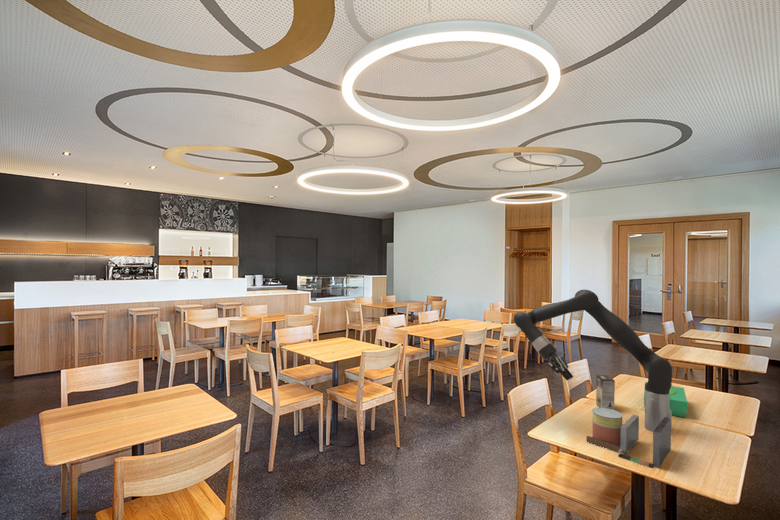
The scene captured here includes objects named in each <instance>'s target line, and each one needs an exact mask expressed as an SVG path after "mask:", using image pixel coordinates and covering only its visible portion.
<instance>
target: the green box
mask: <svg viewBox="0 0 780 520" xmlns="http://www.w3.org/2000/svg"><path fill="white" fill-rule="evenodd" d="M647 382H648V381H647ZM647 382H646V381H644V385H645V384H646V383H647ZM643 392H644V393H643V405H644V407H645V387H644V389H643ZM687 399H688V398H687V395H686V391H685V388H684V387H680V386H674V385H673V384H672V385H671V388H670V391H669V410H671V411H672V416H674V417H680V418H685V417H686V413H687V414H688V400H687Z"/></svg>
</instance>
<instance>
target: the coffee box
mask: <svg viewBox="0 0 780 520" xmlns="http://www.w3.org/2000/svg"><path fill="white" fill-rule="evenodd" d="M595 380H596V383H595V384H596V386H595V387H596V390H595V393H596V396H595V397H596V398H595V400H596V402H595V404H596V406H597V408H608V409H612V410H615V393H616V392H615V388H616V387H615V385H616V380H615V379H613V378H612V377H611V376H610V375H605V374H596V379H595Z"/></svg>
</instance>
